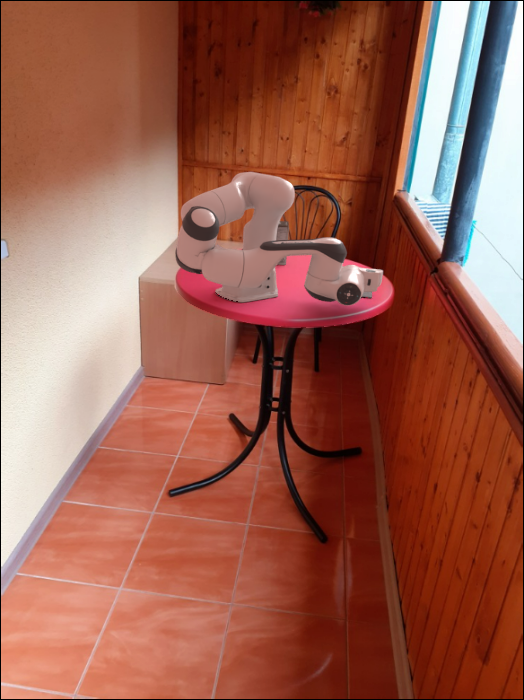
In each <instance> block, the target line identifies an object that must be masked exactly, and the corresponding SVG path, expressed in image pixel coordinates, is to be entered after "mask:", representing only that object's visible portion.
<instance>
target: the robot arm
mask: <svg viewBox="0 0 524 700" xmlns="http://www.w3.org/2000/svg"><path fill="white" fill-rule="evenodd" d="M295 193H296V192H295V187H294V185H293V184H292V183H291V182H289V181H288V180H286V179H284V178H282V177H280V176H275V175H270V174H265V173H259V172H256V171H255V172H254V171H248V172H247V171H245V172H240V173H237V174H236V175H235V176H233V178H232V179H231V182H229V183H228V184H225V185H222V186H220V187H217V188H214V189H212V190H208V191H205V192H203V193H201V194H198V195H196V196H194V197H192V198H191V199H189V200H188V201H186V202H185V203H184V204H183V205H182V206H181V209H180V217H181V222H182V224H181V226H180V229H179V230H178V231H179V232H178V236H177V243H176V249H175V254H174V256H175V261H176V263H177V265H178V266H179V267H180V269H182V270H184V271H186V272H189V273H191V274H197V275H202V276H203V278H204V279H206V280H207V281H208V282H212V283H214V284H219V285H221V286H222V287H221V286H220V287H219V288H216V289H215V290H214V291H215V292H216V293H217V294H219V295H220V296H222V297H221V298H223V297H224V298H223V299H225V298H227V299H226V300H228V299H229V300H228V301H231V300H233V301H232V302H236V301H238V302H237V303H249V302H252V301H258V300H259V301H260V300H264V299H272V298H275V297H276V298H277V297H278V296H279V293H278V292H279V290H278V287H277V286H278V285H277V272H276V271H277V270H276V267H277V264H278V263H279V262H280V261H281V260H282V259H283V258H285V257H291V256H292V257H293V256H297V257H298V256H311V257H310V260H309V264H308V270H307V272H306V275H305V281H304V285H303V286H304V289H305V291H306V292H307V293H308V294H309V296H310V297H312V298H313V299H315V300H318V301H321V302H326V303H331V302H337V303H339V304H340V305H343V306H346V307H348V306H353V305H355V304H357V303H359V302H360V301H361V299H362V298H361V297H362V295H363V292H372V293H374V292H377V291H378V288H379V287H380V286H381V284H382V282H383V275H384V270H383V269H380V268H379V269H378V268H377V269H376V268H367V267H366V268H365V267H360V266H358V265H355V264H348V265H345V266H344V262H345V260H346V257H347V254H348V251H347V248H346V246H345V245H344V242H343V241H342V240H340V239H337V238H336V237H318V238H309V239H307V238H306V239H304V238H303V239H288V240H276V235H277V228H278V224H279V221H281V219H282V217H283V215H284V214H285V212H287V211H288V210H289V209H290V208H291V207H292V206H293V204H294V202H295V196H296V194H295ZM249 209H253V214H252V216H251V219H250V220H249V221H248V222H247V223H245V225H244V227H243V233H242V234H243V235H242V236H243V237H242V249H237V248H226V247H223V246H221V245H219V244H218V243H216V242H217V237H218V234H219V232H220V227H222V226H224V225H228V224H229V223H232V222H234V221H235V222H236V221H238V220H240V219H241V218H243V216H244V214H245V211H246V210H249ZM215 292H214V293H215ZM216 293H215V294H216ZM217 294H216V295H217ZM220 296H219V297H220Z"/></svg>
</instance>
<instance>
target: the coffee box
mask: <svg viewBox="0 0 524 700" xmlns="http://www.w3.org/2000/svg"><path fill="white" fill-rule="evenodd" d="M289 223H290V222H289V221H288V220H285V221H284V220H280V221H279V224H278V228H277V235H276V240H289ZM287 257H288V256H287ZM287 257H285V258H283V259H282V260H281V261H280V262H279V263H278V264H277V265H278V266H279V265H281V266H287V259H288V258H287ZM277 265H276V266H277Z"/></svg>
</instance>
